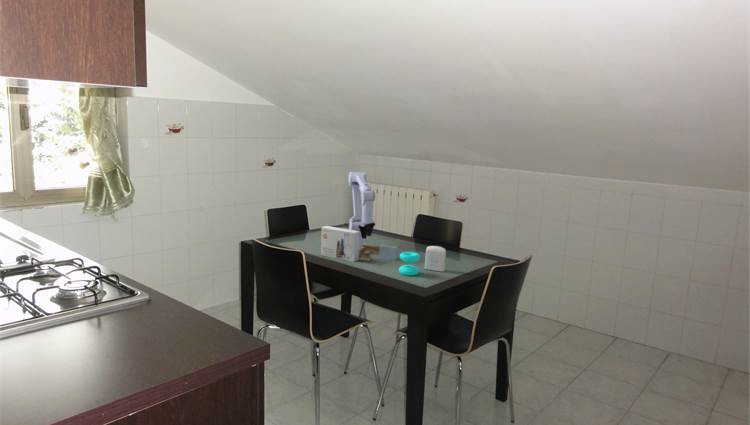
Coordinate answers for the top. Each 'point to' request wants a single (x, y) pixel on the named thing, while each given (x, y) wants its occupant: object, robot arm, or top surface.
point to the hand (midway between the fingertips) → (366, 237)
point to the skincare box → (340, 243)
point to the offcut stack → (365, 256)
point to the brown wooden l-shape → (369, 249)
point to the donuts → (409, 269)
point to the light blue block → (388, 252)
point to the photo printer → (435, 258)
